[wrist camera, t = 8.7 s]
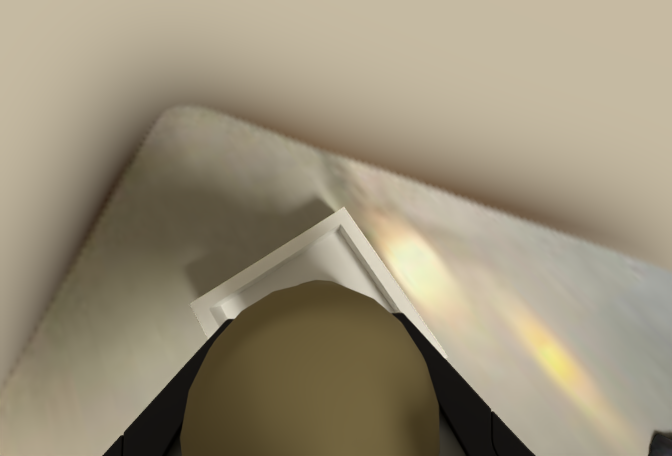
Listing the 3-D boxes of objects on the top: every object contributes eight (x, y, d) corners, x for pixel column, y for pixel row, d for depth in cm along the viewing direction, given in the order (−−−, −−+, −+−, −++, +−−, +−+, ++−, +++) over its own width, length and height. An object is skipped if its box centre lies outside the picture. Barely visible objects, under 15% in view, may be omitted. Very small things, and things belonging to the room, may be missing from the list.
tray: (293, 455, 15) (287, 487, 13) (208, 301, 17) (189, 303, 14) (429, 346, 17) (448, 356, 14) (341, 217, 19) (344, 206, 16)
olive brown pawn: (389, 313, 15) (553, 373, 4) (337, 414, 14) (391, 860, 3) (303, 260, 16) (263, 198, 5) (244, 353, 14) (7, 549, 3)
